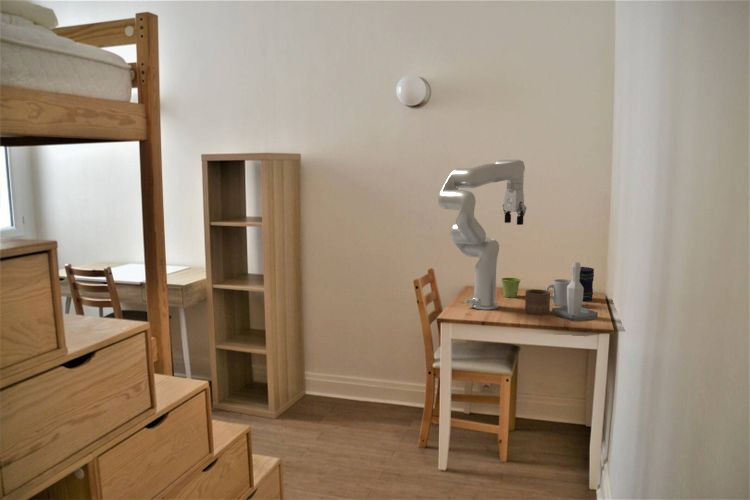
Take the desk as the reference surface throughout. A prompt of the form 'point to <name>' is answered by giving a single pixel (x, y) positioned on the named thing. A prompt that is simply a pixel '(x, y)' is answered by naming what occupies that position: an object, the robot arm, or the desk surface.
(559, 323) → the desk surface
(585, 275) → the storage jar
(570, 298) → the faceted bottle
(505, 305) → the desk surface
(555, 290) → the mug
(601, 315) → the desk surface
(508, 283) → the plant pot
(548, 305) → the holder
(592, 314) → the tray
